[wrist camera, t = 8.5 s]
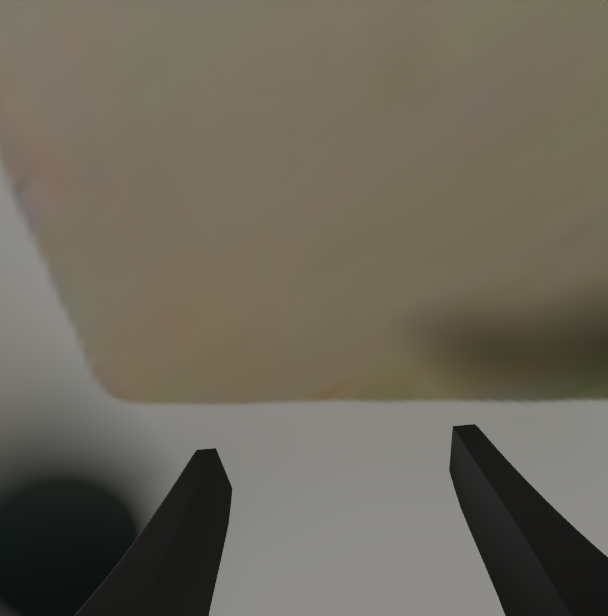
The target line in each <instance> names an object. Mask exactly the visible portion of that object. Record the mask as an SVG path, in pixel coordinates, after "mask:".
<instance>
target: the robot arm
mask: <svg viewBox="0 0 608 616" xmlns="http://www.w3.org/2000/svg"><path fill="white" fill-rule="evenodd" d="M449 470H450V474H451V478H452V481H453V485H454V488H455V491H456V494H457V497H458V501H459V503H460V507H461V509H462V512H463V514H464V517H465V519H466V522H467V524H468V526H469V529H470V531H471V533H472V536H473V538H474V541H475V543H476V545H477V548H478V550H479V552H480V555H481V557H482V559H483V562H484V564H485V566H486V569H487V571H488V574H489V576H490V578H491V581H492V583H493V585H494V588H495V590H496V592H497V595H498V597H499V600H500V603H501V605H502V608H503V610H504V613H505V615H506V616H608V557H607V556H606V555H604V554H603V553H602V552H601V551H600V550H599V549H597V548H596V547H595V546H594V545H593V544H592V543H591V542H590V541H588V540H587V539H586V538H585V537H584V536H583V535H582V534H581V533H580V532H579V531H577V530H576V529H575V528H574V527H573V526H572V525H571V524H570V523H569V522H568V521H567V520H566V519H565V518H563V516H562V515H560V514H559V513H558V512H557V511H556V510H555V509H554V508H553V507H552V506H551V505H550V504H549V503H548V502H547V501H546V500H545V499H544V498H543V497H542V496H541V495H540V494H539V493H538V492H537V491H536V490H535V489H534V488H533V487H532V486H531V485H530V484H529V483H528V482H527V481H526V480H525V479H524V478H523V477H522V476H521V474H520V473H519V472H518V471H517V470H516V469H515V468H514V467H513V466H512V465H511V464H510V463H509V462H508V461H507V459H506V458H505V457H504V456H503V455H502V454H501V453H500V452H499V451H498V450H497V449H496V447H495V446H494V445H493V444H492V443H491V442H490V441H489V440H488V438H487V437H486V436H485V435H484V434H483V432H482V431H481V430H480V429H479V428H478V427H477V426H476V425H475V424H473V425H463V426H453V432H452V444H451V457H450V469H449ZM231 496H232V487H231V484H230V482H229V480H228V477H227V475H226V472H225V470H224V467H223V465H222V463H221V460H220V458H219V456H218V453H217V450H216V448H215V449H204V450H197V451H196V452H195V453H194V455H193V456H192V458H191V459H190V461H189V462H188V464H187V465H186V467H185V469H184V470H183V472H182V473H181V475H180V476H179V478H178V479H177V481H176V482H175V484H174V486H173V487H172V489H171V490H170V492H169V493H168V495H167V496H166V498H165V499H164V501H163V502H162V503H161V505H160V506H159V508H158V509H157V511H156V512H155V514H154V515H153V517H152V518H151V519H150V521H149V522H148V524H147V525H146V527H145V528H144V529H143V531H142V532H141V533H140V535H139V536H138V537H137V539H136V540H135V542H134V543H133V544H132V546H131V547H130V548H129V550H128V551H127V552H126V554H125V555H124V556H123V558H122V559H121V560H120V562H119V563H118V564H117V565H116V567H115V568H114V569H113V570H112V572H111V573H110V574H109V575H108V577H107V578H106V579H105V580H104V582H103V583H102V584H101V585H100V586H99V588H98V589H97V590H96V591H95V593H94V594H93V595H92V596H91V597H90V598H89V600H88V601H87V602H86V603H85V604H84V605H83V606H82V608H81V609H80V610H79V611H78V612H77V613H76V614H75V615H74V616H209V610H210V606H211V601H212V597H213V592H214V588H215V583H216V579H217V574H218V570H219V565H220V561H221V556H222V551H223V547H224V542H225V538H226V533H227V528H228V523H229V515H230V506H231Z"/></svg>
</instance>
